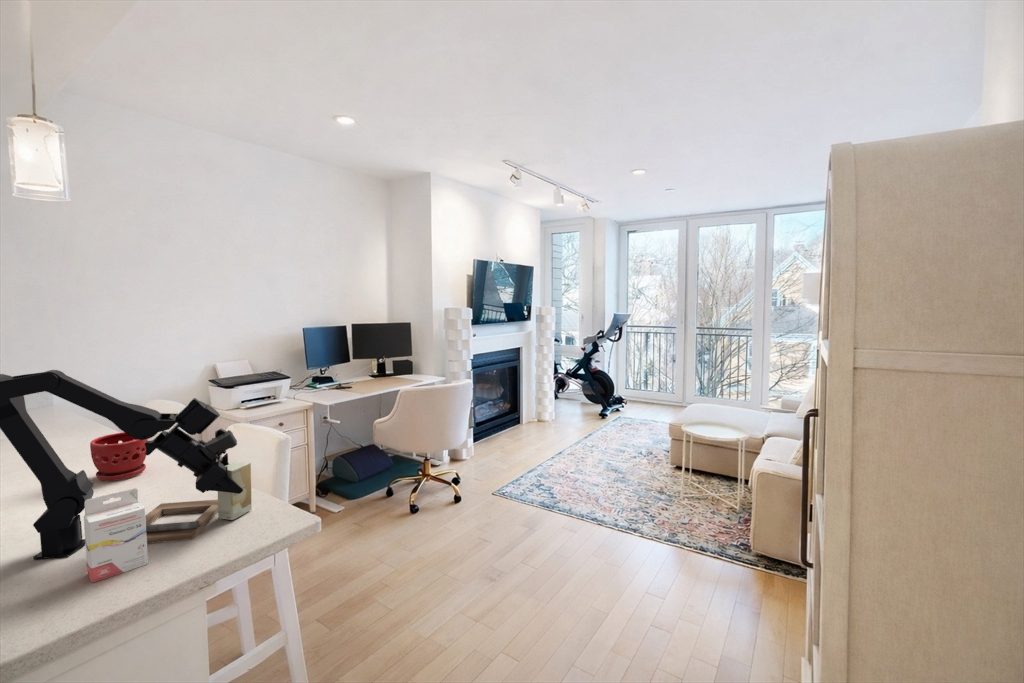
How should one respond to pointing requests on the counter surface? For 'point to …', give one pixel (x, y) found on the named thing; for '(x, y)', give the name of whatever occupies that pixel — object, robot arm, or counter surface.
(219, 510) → the skincare box
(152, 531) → the shelf frame
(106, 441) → the plant pot
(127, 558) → the ink cartridge box
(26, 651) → the counter surface
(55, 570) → the counter surface
